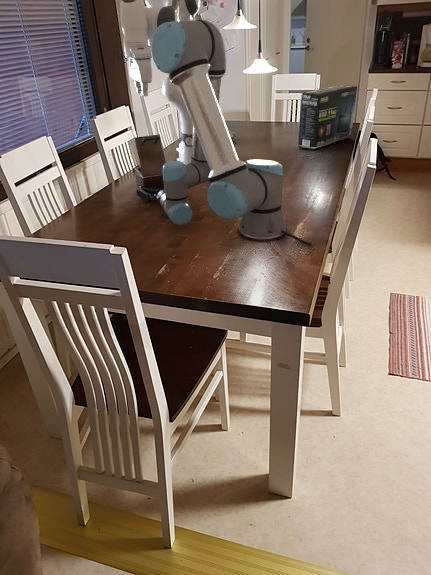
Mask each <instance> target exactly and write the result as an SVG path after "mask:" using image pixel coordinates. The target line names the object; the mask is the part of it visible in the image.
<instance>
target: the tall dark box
mask: <svg viewBox="0 0 431 575" xmlns="http://www.w3.org/2000/svg"><path fill="white" fill-rule="evenodd" d="M133 140H134V145H135V150H136V154H137V158H138V163H139V167H140V168H141V172H142V177H145V176H152V175H159V174H163V166H164V164H165V163H167V161H166V157H165V153H164V147H163V144H162V139H161V135H160V133H159V134H151V135H143V136H135V137H133Z"/></svg>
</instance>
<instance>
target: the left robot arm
mask: <svg viewBox="0 0 431 575" xmlns="http://www.w3.org/2000/svg"><path fill="white" fill-rule="evenodd" d="M119 6H120V8H119V11H120V12H119V14H120V26H121V30H122V33H123V41H122V43H123V49H124V58H126V59H128V68H129V70H128V71H129V76H130V78H131V79H132V80H134V86H135V90H136V93H138V94H141V95H142V97H148V96H149V91H148V90H149V84H151V83H152V81H153V64H152V55H151V42H150V40H152V37H153V35H154V32H155V31H156V29H157V28H158V27H159V26H160V25H161V24H163V23H167V22H171V21H194V20H195V18H196V15H197V13H198V12H199V11H200V8H201V0H120V5H119ZM161 92H162V94H163V96H164V98H165V99H166V100H167V101H168V102H170V103H171V104H172V105H173V106H174V107H175V109H176V111H177V112H178V115H179V120H180V129H181V130H180V140H181V141H180V143H178V147H177V148H176V151H178V157H177V158H176V161H181V162H184V163H185V164H189V163H191V155H192V139H193V123H192V121H191V118H190V115H189V113H188V110H187V108H186V105H185V102H184V100H183V97H182V94H181V92H180V89H179V87H178V86H176V85H174V84H172V83H171V81H170V78H169V76H168V77H165V78H164V80H163V81H162V85H161Z"/></svg>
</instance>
